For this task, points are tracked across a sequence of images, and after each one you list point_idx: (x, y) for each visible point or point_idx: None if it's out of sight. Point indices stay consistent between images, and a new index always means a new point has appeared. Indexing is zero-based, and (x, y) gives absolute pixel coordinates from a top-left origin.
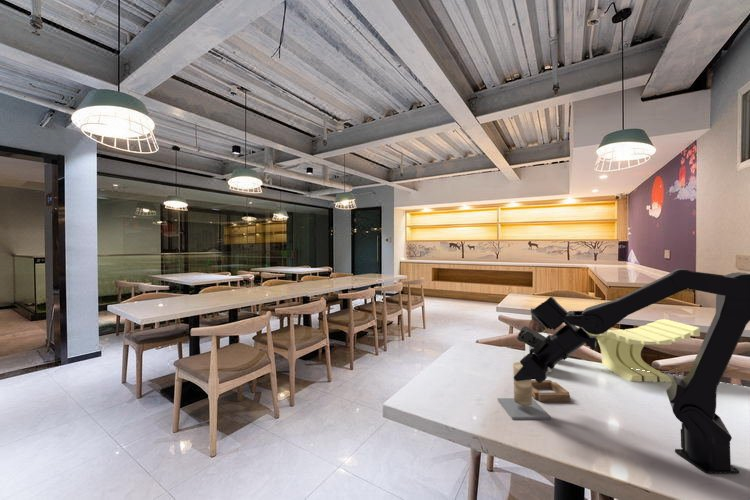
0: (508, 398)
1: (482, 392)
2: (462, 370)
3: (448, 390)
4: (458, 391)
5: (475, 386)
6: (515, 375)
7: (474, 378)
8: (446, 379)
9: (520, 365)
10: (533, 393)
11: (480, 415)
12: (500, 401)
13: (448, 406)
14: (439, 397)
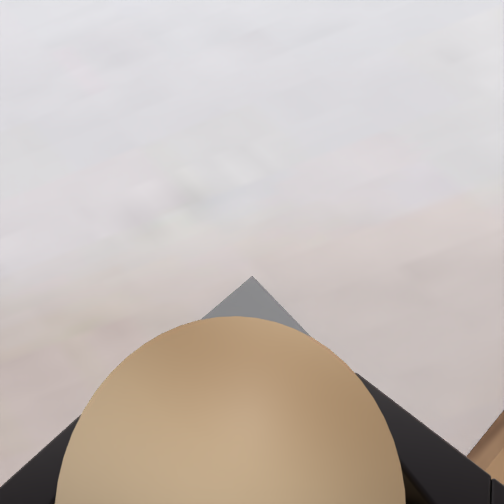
0: (300, 329)
1: (290, 181)
2: (469, 10)
3: (188, 59)
4: (211, 93)
5: (334, 127)
6: (70, 424)
7: (428, 86)
8: (300, 5)
9: (196, 463)
10: (482, 461)
11: (12, 276)
12: (222, 305)
13: (21, 125)
14: (88, 62)
